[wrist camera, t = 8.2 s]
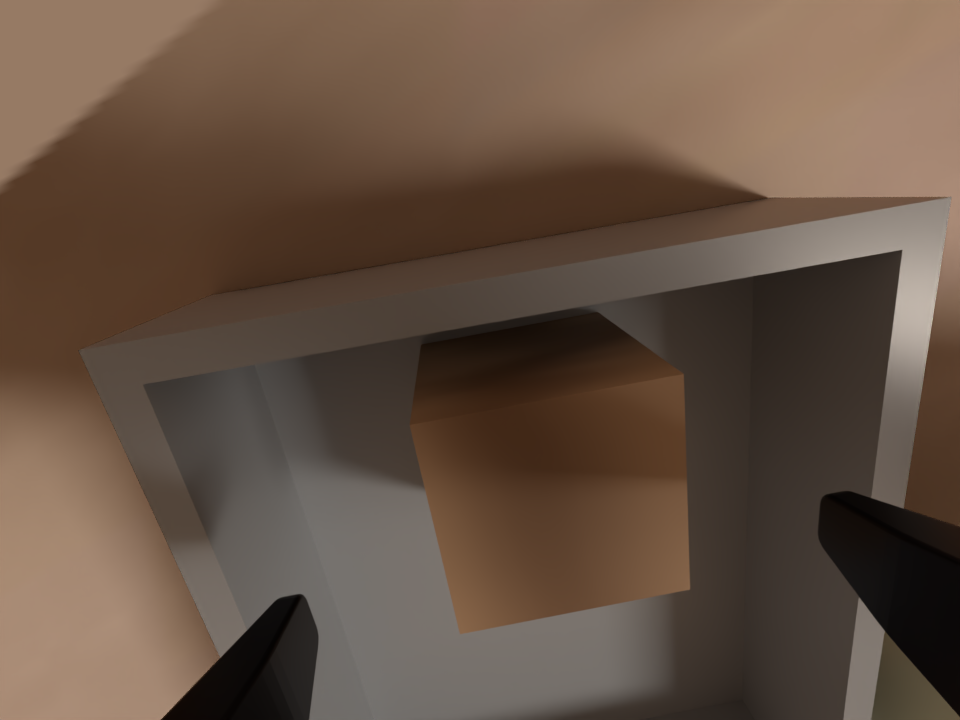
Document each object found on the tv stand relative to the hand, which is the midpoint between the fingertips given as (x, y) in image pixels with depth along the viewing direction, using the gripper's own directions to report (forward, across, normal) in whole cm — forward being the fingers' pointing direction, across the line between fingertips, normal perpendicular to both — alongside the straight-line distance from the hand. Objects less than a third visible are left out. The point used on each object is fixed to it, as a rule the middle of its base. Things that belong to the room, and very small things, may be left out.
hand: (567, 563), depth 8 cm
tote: (+7, 0, +5) cm, 9 cm away
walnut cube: (+6, 0, 0) cm, 6 cm away
